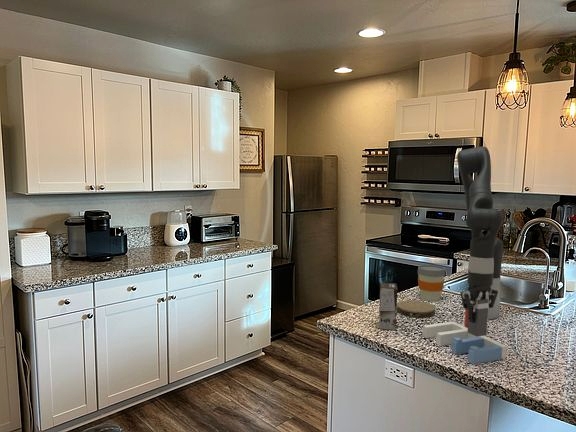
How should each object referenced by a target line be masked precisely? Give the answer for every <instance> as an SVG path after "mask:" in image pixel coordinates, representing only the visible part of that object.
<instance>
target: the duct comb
mask: <svg viewBox="0 0 576 432" xmlns="http://www.w3.org/2000/svg"><path fill="white" fill-rule="evenodd" d="M422 337H423V338H425V339H428V338H429V339H430V337H431V338H435V337H436V339H435V340H436V344H435V345H437V346H439V347H443V346H449V345H451V348H450V349H451V353H452V354H454V355H455V356H456V355H463V354H467V363H470V364H471V365H477V364H482V363H486V362H487V363H488V362H493V361H498V360H503V359H504V360H505V359H506V358H507V351H508V346H507V345H506V344H502V343H501V342H499V341H496V340H494V339H492V338H491V337H488V336H487V335H484V336H478V337H476V336H474V335H472V334H470V333H468V328H466V327H465V325H462V324H460V323H457V321H456V322H455V320H454V321H453V320H452V321H447V322H440V323H433V324H426V325H425V324H424V325H422Z"/></svg>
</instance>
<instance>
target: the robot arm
mask: <svg viewBox="0 0 576 432" xmlns="http://www.w3.org/2000/svg"><path fill="white" fill-rule="evenodd" d="M456 156H457V157H456V158H457V159H456V161H457V166H458V170H459V173H460V174H459V175H460V178H461V182H462V186H463V192H464V196H465V203H466V204H465V206H466V211H467V213H466V215H465V216H466V217H465V225H466V226H467V228H469V229H470V231H471V240H470V242H469V243H470V245H469V258H468V264H467V267H468V268H467V284H468V288H467V291H461V292H460V294H459V295H460V299H461V302H462V306H463V307H462V308H463V309H464V310H466V309H467V310H468V311H469V315H468V319H469V321H470V322H472V323H475V322H476V309H477V308H476V307H477V305H478V300H480V299H489V301H488V303H489V305H488V317H487V320H496V319H497V318H498V317H500V316H501V315H500V314H501V313H500V311H501V294H500V284H501V283H500V282H501V270H502V261H503V255H504V243H503V241H502V239H500V238H497V236H498V234H499V231H500V228H501V226H502V223H503V215H502V212H501V211H500V210H499V209H497V208H496V209H495V208H494V207H493V206H494V201H493V193H492V186H491V184H492V160H491V155H490V151H489V149H488V147H486V146H476V147H472V148H466V149H461V150H459V151H458V152H457V155H456ZM476 173H478V175H477V176H476V177H475V179H474V178H473V177H472V175H471V174H476ZM484 231H486V232H487V233H486V234H485V235H483V232H484ZM471 299H472V300H474V301H475V302H473V301H472V300H471ZM472 304H473V307H472Z"/></svg>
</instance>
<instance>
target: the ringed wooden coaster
mask: <svg viewBox="0 0 576 432" xmlns="http://www.w3.org/2000/svg"><path fill="white" fill-rule="evenodd" d="M396 313H398V314H400V315H401V316H405V317H406V318H407V317H408V318H412V317H414V318H413V319H428V318H433V317H434V316H435V315H436V306H435V305H433V304H431V303H429V302H427V301H426V302H425V301H421V300H410V299H409V300H407V299H406V300H401V301H397V312H396Z"/></svg>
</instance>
